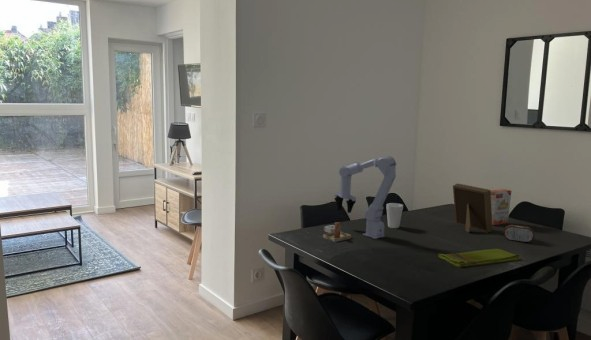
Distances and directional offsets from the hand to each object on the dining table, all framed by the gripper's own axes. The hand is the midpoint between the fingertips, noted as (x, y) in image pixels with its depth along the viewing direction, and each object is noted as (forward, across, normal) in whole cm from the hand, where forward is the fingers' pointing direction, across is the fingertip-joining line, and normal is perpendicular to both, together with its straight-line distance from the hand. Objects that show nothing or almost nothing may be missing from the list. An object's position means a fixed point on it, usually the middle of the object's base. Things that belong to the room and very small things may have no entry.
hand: (344, 211), depth 266 cm
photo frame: (+11, +41, +61) cm, 74 cm away
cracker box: (+11, +45, +87) cm, 99 cm away
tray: (+10, +11, -16) cm, 22 cm away
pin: (+10, +11, -16) cm, 22 cm away
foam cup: (+11, +13, +28) cm, 33 cm away
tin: (+11, +70, +62) cm, 94 cm away
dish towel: (+11, +72, +18) cm, 75 cm away
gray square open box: (+10, +1, -10) cm, 14 cm away
